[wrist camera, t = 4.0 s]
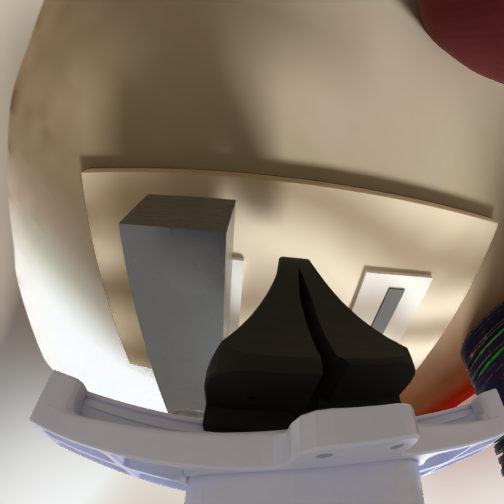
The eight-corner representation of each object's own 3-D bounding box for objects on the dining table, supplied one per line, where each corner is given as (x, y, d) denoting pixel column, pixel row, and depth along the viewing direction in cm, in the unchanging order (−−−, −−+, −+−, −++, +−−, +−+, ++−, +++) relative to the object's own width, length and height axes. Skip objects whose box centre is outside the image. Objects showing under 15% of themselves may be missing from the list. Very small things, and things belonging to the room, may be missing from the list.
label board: (404, 375, 23) (408, 384, 22) (132, 356, 23) (128, 366, 22) (492, 218, 14) (501, 226, 13) (88, 168, 14) (77, 175, 13)
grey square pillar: (228, 384, 22) (222, 429, 18) (181, 378, 22) (171, 421, 18) (238, 189, 13) (226, 232, 9) (157, 184, 13) (118, 223, 9)
